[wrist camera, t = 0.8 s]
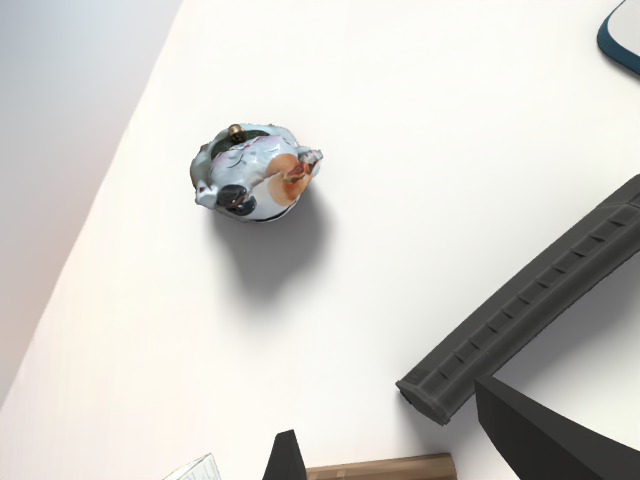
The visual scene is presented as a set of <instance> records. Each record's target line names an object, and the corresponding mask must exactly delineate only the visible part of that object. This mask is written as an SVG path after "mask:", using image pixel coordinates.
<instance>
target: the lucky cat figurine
mask: <svg viewBox="0 0 640 480" xmlns="http://www.w3.org/2000/svg"><path fill="white" fill-rule="evenodd" d="M322 158H323V155H322V153H321V150H318V151H317V150H311V149H310V148H309V147H306V146H299V144H298V142H297V141H296V139H295V137H294V136H293V135H292V133H291V132H290V131H289V130H288V129H285V128H283V127H277V126H274V125H272V124H270V125H253V124H233V125H231V126H230V127H229V128H227V129H225V130H223V131H222V132H220V133H219V134H218V135H217V136H216V137H215V139H214V140H213V141H212V142H209V144H208V143H207V144H205V145H203V146H201V149H200V151H199V153H198V154H197V156H196V157H195V159H193V161H192V163H191V166H190V176H191V180H192V184H193V186H194V187H195V189H196V199H195V202H196V204H197V205H203V206H204V207H206V208H208V209H212V210H217V211H218V212H220V213H222V214H224V215H226V216H229V217H232V218H235V219H237V220H239V221H241V222H251V221H255V222H258V223H264V222H271V221H274V220H277V219H278V218H280V217H282V216H284V215H285V214H286V213H287V212H288V211H289V210H290V209H292V208H293V207H294V206H295V205H296V203H297V201H298V199H299V198H300V195H301V193H302V192H303V191H304V190H305V189H306V186H307V184H308V183H309V181H310V180H311V179H312V178H313V177H314V176H315V175H316V174H317V173H318V172H319V169H320V164H321V161H322Z"/></svg>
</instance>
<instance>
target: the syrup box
mask: <svg viewBox="0 0 640 480" xmlns="http://www.w3.org/2000/svg"><path fill="white" fill-rule="evenodd" d="M163 480H221V478H220V475H219V472H218V469H217V467H216V464H215V461H214V458H213V456H212V453H209V454H207V455H205V456H203V457H201V458H199V459H197V460H195V461H194V462H192V463H189V464H187V465H185V466H183V467H181V468H179V469H177V470H175V471H173V472H172V473H171V474H169V475H168V476H167V477H166V478H164V479H163Z"/></svg>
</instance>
